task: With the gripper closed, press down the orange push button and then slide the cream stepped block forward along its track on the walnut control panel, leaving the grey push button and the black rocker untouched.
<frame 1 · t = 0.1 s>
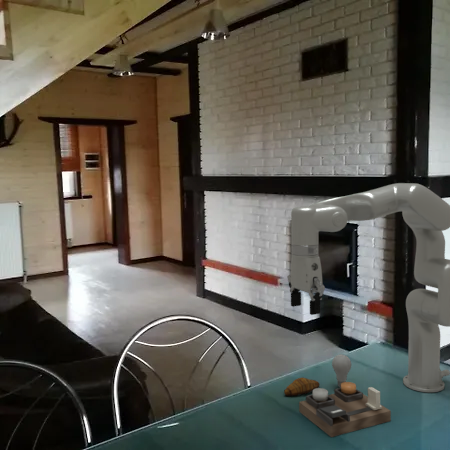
hand: (305, 309, 144), 31 cm above the table, tool pointing down, fingers open, 9 cm apart
rocker: (332, 411, 138), point 5 cm above the table, hinge at 10.0°
croissant: (302, 393, 161), on the table
lightbulb: (341, 388, 164), on the table
orange button: (348, 387, 150), point 6 cm above the table, slide at 0.0 cm
cream stepped block: (373, 398, 143), point 6 cm above the table, slide at 0.0 cm
panel: (343, 416, 145), on the table
grey button: (320, 394, 146), point 6 cm above the table, slide at 0.0 cm
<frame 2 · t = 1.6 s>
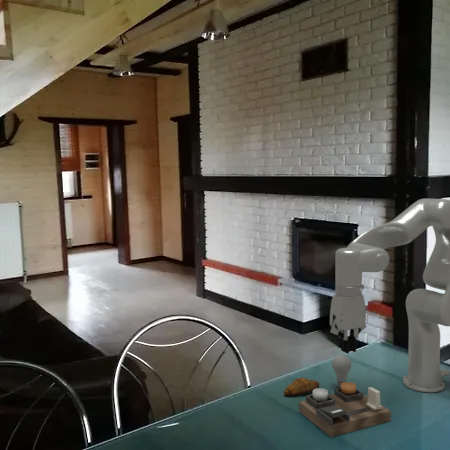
hand: (348, 350, 149), 17 cm above the table, tool pointing down, fingers closed
nothing on the table moved.
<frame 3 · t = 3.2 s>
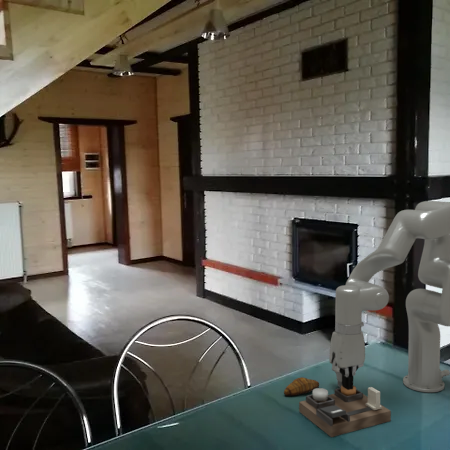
hand: (347, 387, 150), 6 cm above the table, tool pointing down, fingers closed
orange button: (348, 390, 150), point 5 cm above the table, slide at 0.8 cm, touching gripper
everything else where it was.
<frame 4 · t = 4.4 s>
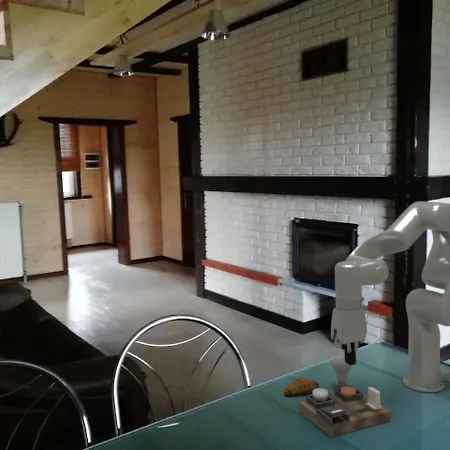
hand: (350, 363, 150), 13 cm above the table, tool pointing down, fingers closed
orange button: (348, 392, 150), point 4 cm above the table, slide at 1.4 cm
everything else where it was.
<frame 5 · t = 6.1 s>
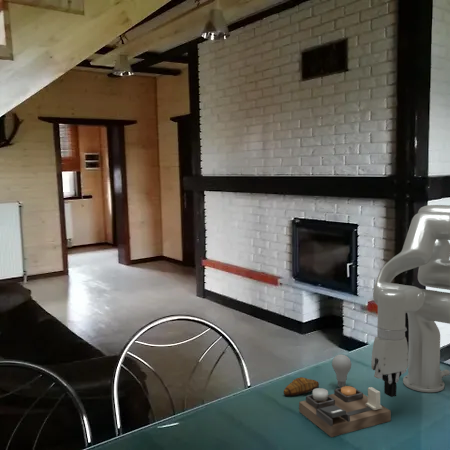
hand: (390, 394, 145), 6 cm above the table, tool pointing down, fingers closed
nothing on the table moved.
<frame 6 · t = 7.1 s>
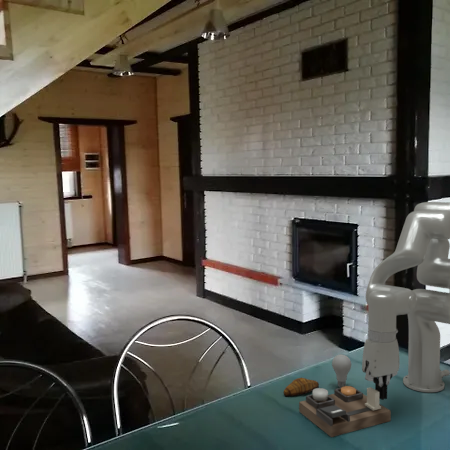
hand: (381, 397, 144), 6 cm above the table, tool pointing down, fingers closed
cream stepped block: (373, 398, 143), point 6 cm above the table, slide at 0.3 cm, touching gripper
everything else where it was.
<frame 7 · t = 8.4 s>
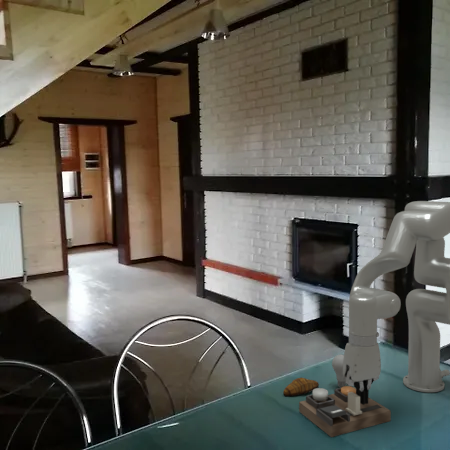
hand: (362, 402, 141), 6 cm above the table, tool pointing down, fingers closed
cream stepped block: (353, 403, 140), point 6 cm above the table, slide at 7.0 cm, touching gripper
everything else where it was.
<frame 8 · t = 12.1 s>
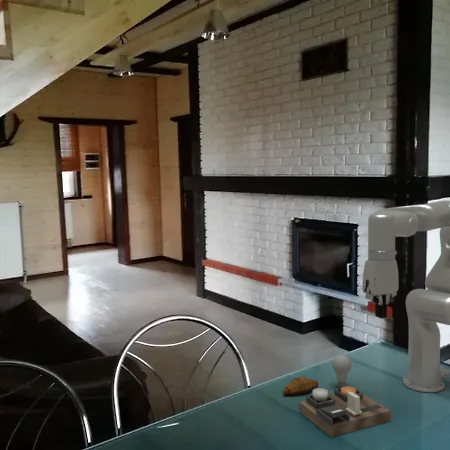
hand: (380, 316, 148), 27 cm above the table, tool pointing down, fingers closed
cream stepped block: (353, 403, 140), point 6 cm above the table, slide at 7.1 cm
everything else where it was.
at the end: orange button slide at 1.4 cm; cream stepped block slide at 7.1 cm; grey button slide at 0.0 cm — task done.
